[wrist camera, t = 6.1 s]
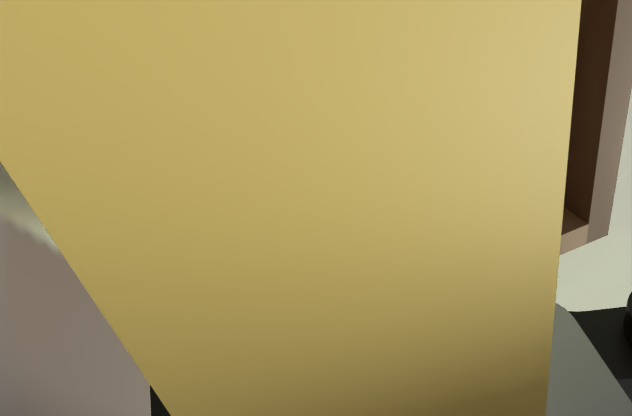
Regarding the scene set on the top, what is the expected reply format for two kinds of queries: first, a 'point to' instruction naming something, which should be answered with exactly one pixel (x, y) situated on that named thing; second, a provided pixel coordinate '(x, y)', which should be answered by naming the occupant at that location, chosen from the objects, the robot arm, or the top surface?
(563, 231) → the tray
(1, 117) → the grey-banded yellow bar
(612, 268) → the top surface
